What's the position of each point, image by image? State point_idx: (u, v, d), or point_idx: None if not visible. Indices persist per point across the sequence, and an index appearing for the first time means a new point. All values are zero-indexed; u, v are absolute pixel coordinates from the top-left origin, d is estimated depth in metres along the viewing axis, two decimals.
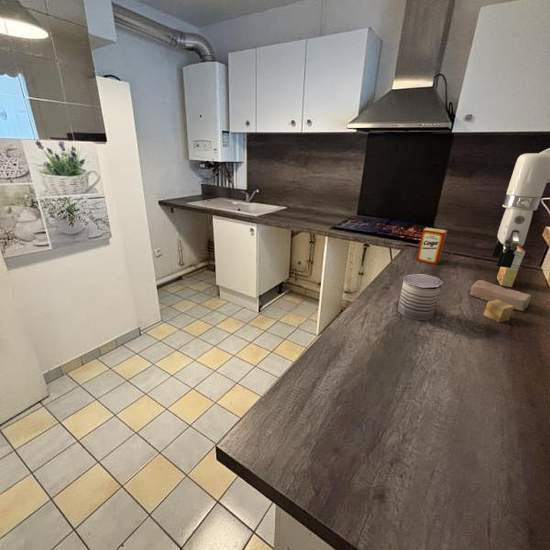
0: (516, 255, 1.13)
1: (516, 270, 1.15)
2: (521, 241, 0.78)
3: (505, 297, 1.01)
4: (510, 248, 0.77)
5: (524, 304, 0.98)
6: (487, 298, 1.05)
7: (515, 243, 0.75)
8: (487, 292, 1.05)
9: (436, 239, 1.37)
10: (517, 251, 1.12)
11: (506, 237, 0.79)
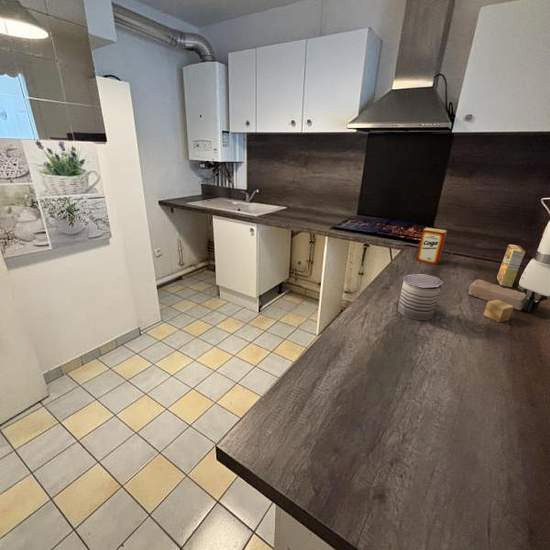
0: (516, 255, 1.13)
1: (516, 270, 1.15)
2: None
3: (503, 296, 1.01)
4: (547, 298, 0.92)
5: (522, 303, 0.98)
6: (485, 297, 1.06)
7: None
8: (486, 291, 1.05)
9: (436, 239, 1.37)
10: (517, 251, 1.12)
11: (547, 295, 0.91)
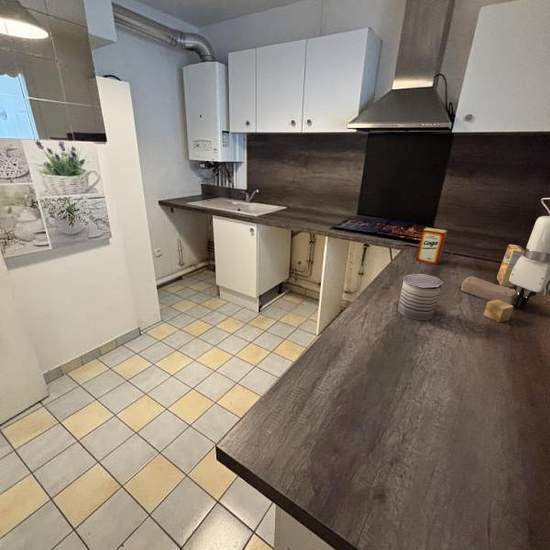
0: (516, 255, 1.13)
1: None
2: (549, 287, 0.93)
3: (494, 292, 1.04)
4: (535, 294, 0.95)
5: (512, 299, 1.01)
6: (477, 293, 1.08)
7: None
8: (477, 288, 1.08)
9: (436, 239, 1.37)
10: (517, 251, 1.12)
11: None
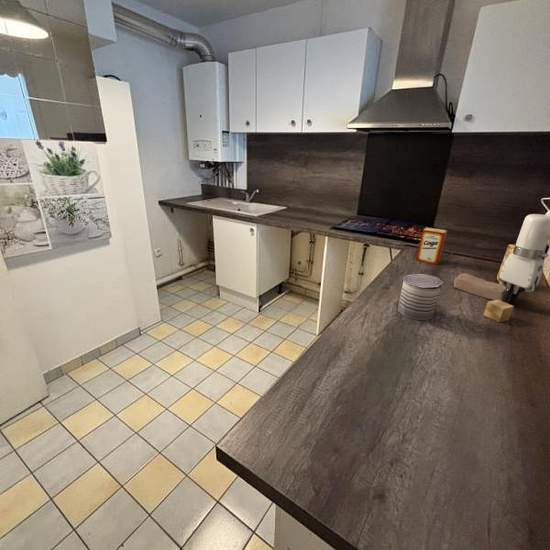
0: None
1: None
2: (538, 283, 0.96)
3: (485, 288, 1.07)
4: (524, 290, 0.98)
5: (502, 295, 1.04)
6: (469, 290, 1.11)
7: None
8: (469, 284, 1.11)
9: (436, 239, 1.37)
10: None
11: (525, 287, 0.97)
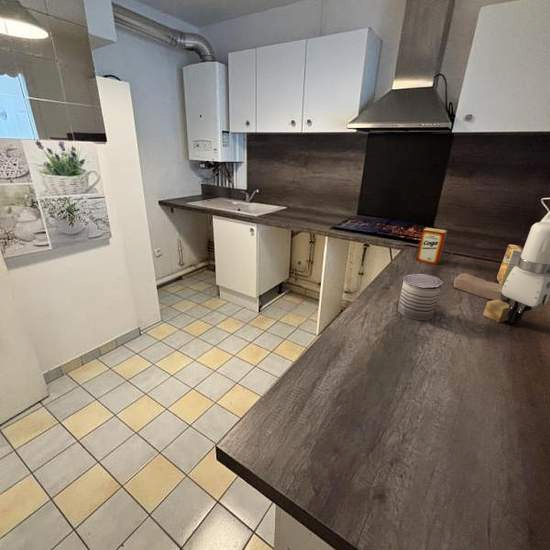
0: (516, 255, 1.13)
1: None
2: (546, 302, 0.83)
3: (485, 288, 1.07)
4: (530, 309, 0.85)
5: None
6: (469, 290, 1.11)
7: None
8: (469, 284, 1.11)
9: (436, 239, 1.37)
10: (517, 251, 1.12)
11: None
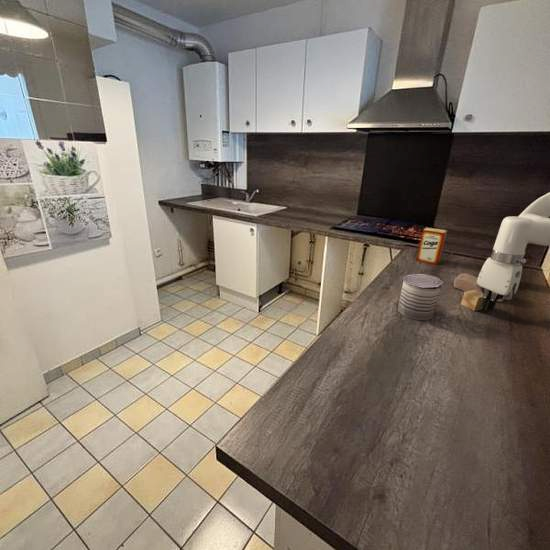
0: None
1: None
2: (516, 290, 0.90)
3: None
4: (502, 297, 0.92)
5: None
6: (469, 290, 1.11)
7: (508, 299, 0.90)
8: (469, 284, 1.11)
9: (436, 239, 1.37)
10: None
11: (502, 294, 0.90)
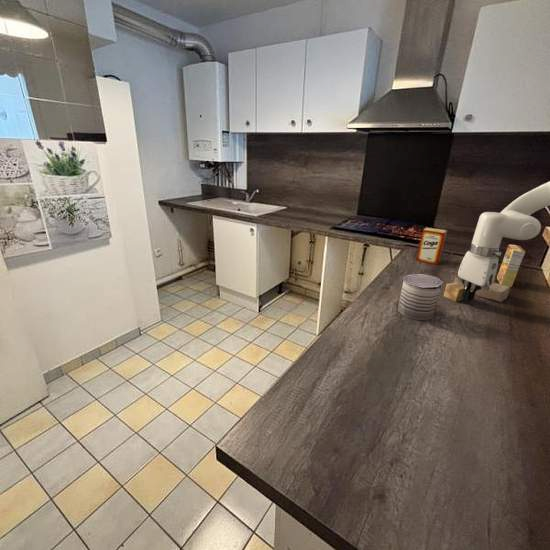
0: (516, 255, 1.13)
1: (516, 270, 1.15)
2: (493, 281, 0.96)
3: None
4: (480, 288, 0.98)
5: (502, 295, 1.04)
6: None
7: None
8: None
9: (436, 239, 1.37)
10: (517, 251, 1.12)
11: None
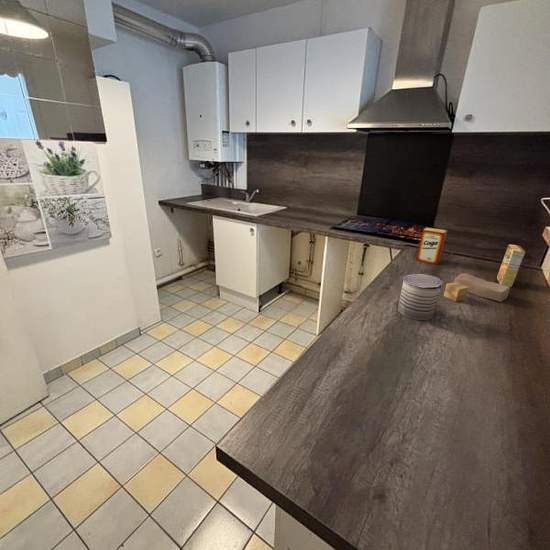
0: (516, 255, 1.13)
1: (516, 270, 1.15)
2: None
3: (485, 288, 1.07)
4: None
5: (502, 295, 1.04)
6: (469, 290, 1.11)
7: None
8: (469, 284, 1.11)
9: (436, 239, 1.37)
10: (517, 251, 1.12)
11: None
